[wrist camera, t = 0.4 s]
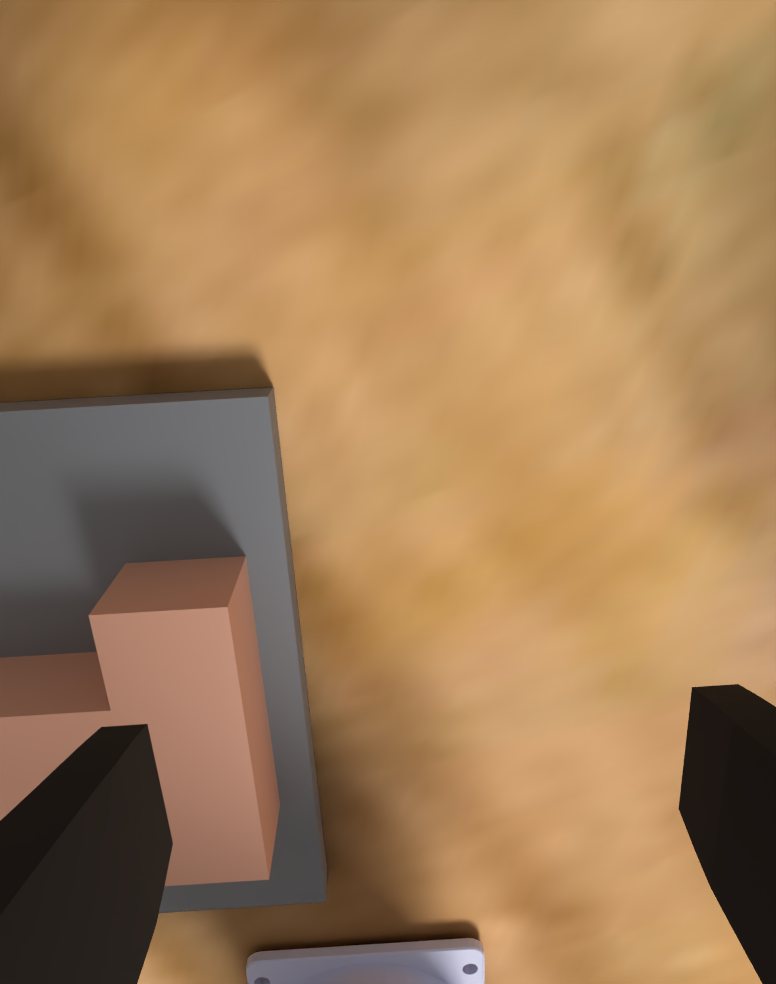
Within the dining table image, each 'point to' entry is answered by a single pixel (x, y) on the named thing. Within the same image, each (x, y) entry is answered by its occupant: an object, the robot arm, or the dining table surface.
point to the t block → (162, 710)
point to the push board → (164, 537)
